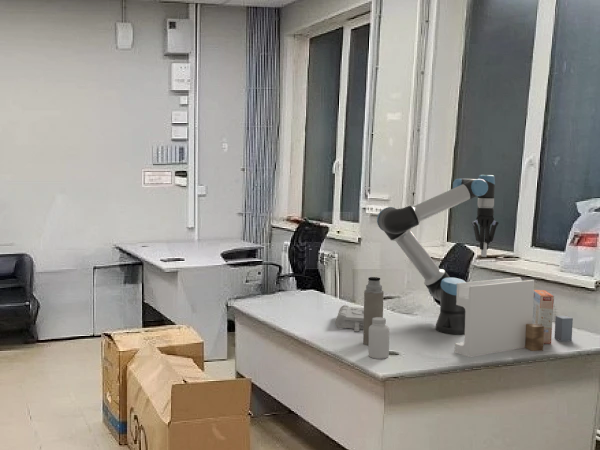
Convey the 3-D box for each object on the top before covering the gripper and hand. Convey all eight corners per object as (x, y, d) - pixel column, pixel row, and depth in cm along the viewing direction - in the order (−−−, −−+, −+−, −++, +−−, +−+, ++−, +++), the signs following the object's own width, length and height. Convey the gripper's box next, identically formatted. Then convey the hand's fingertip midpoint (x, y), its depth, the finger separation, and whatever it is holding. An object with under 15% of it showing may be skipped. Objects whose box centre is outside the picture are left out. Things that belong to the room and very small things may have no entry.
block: (468, 357, 239) (471, 286, 237) (454, 351, 246) (456, 283, 244) (531, 346, 256) (534, 280, 254) (516, 341, 263) (518, 277, 261)
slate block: (561, 341, 264) (562, 318, 264) (554, 338, 269) (555, 315, 269) (571, 340, 265) (572, 318, 264) (564, 337, 270) (565, 315, 269)
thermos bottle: (365, 340, 262) (367, 275, 260) (383, 342, 259) (385, 276, 257) (361, 344, 254) (362, 278, 252) (380, 347, 252) (381, 279, 250)
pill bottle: (366, 353, 242) (367, 316, 241) (386, 353, 243) (387, 316, 242) (370, 359, 234) (371, 321, 233) (390, 359, 235) (391, 321, 234)
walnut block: (531, 351, 249) (532, 326, 248) (525, 347, 254) (526, 323, 253) (543, 350, 250) (544, 326, 249) (536, 347, 255) (537, 323, 254)
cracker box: (552, 344, 259) (554, 295, 258) (537, 343, 260) (539, 295, 258) (543, 335, 273) (546, 289, 271) (529, 335, 274) (531, 289, 272)
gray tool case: (333, 331, 277) (334, 315, 276) (338, 317, 304) (339, 302, 304) (376, 334, 274) (377, 318, 273) (378, 320, 302) (378, 305, 301)
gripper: (494, 206, 296) (492, 255, 298) (469, 206, 294) (467, 255, 296) (502, 207, 289) (500, 257, 291) (476, 207, 287) (474, 257, 289)
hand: (483, 256), depth 293 cm, fingers closed
